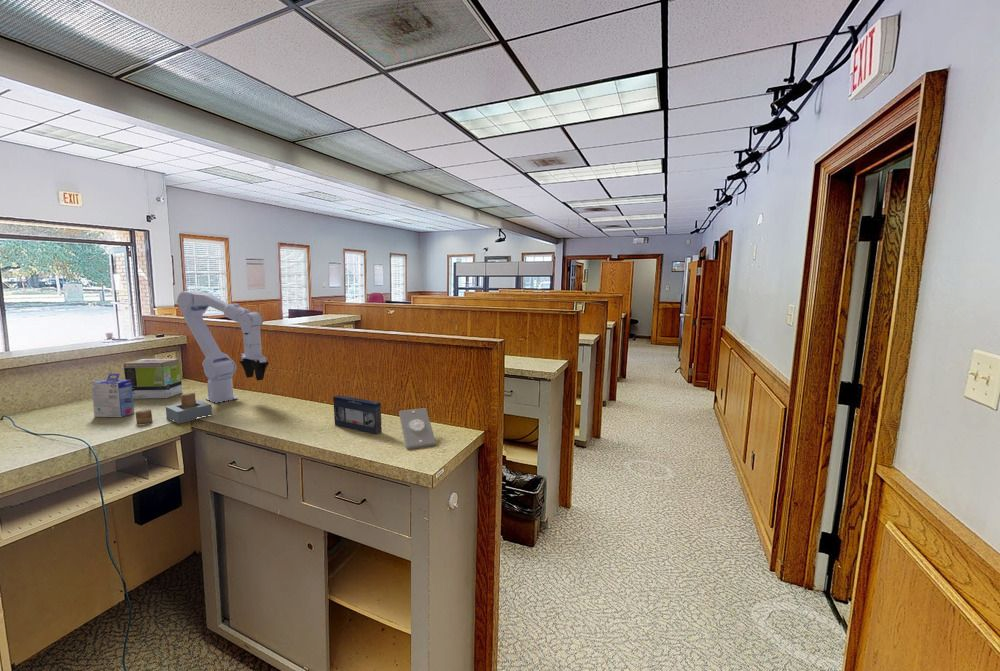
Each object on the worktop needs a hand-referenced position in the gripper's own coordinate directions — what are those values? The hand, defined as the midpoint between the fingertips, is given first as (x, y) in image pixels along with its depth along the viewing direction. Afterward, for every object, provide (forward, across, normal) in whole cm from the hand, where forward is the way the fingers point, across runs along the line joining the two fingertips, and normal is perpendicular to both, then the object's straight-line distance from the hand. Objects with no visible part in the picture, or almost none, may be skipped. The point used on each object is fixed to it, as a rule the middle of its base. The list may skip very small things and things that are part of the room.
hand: (255, 378), depth 161 cm
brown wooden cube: (+10, -6, -33) cm, 35 cm away
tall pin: (+9, -1, -22) cm, 24 cm away
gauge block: (+9, -1, -22) cm, 24 cm away
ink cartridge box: (+10, -24, -36) cm, 44 cm away
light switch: (+10, +78, +8) cm, 79 cm away
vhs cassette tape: (+10, +56, +4) cm, 57 cm away
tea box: (+10, -42, -19) cm, 47 cm away
